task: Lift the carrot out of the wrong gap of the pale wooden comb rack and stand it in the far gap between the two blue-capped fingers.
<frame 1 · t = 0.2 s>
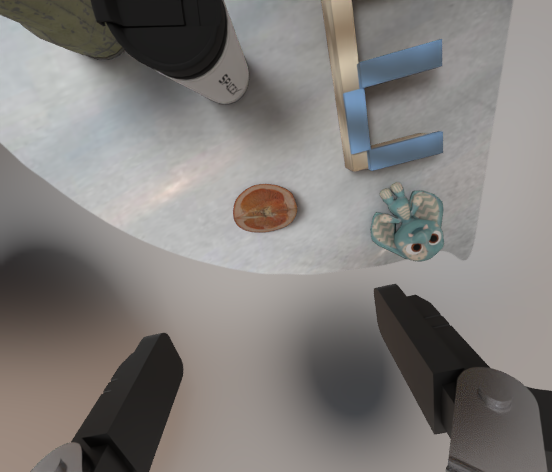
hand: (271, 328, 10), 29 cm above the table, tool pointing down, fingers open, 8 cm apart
comb rack: (378, 29, 30), on the table
thermos: (95, 16, 29), on the table
travel mug: (222, 75, 32), on the table
stuffed animal: (399, 217, 39), on the table
fruit slice: (266, 204, 38), on the table
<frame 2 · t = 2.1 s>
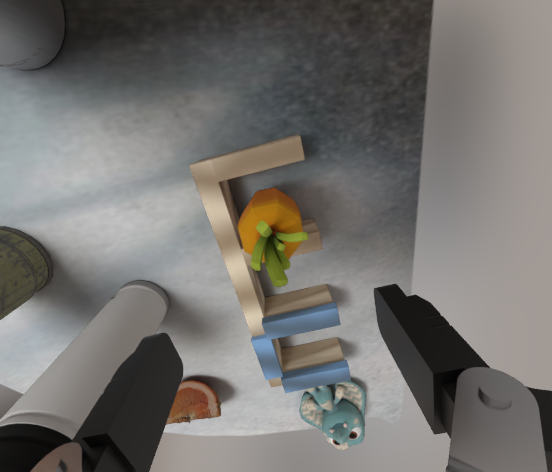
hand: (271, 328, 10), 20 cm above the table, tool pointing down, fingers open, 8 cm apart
comb rack: (289, 267, 32), on the table
thermos: (15, 260, 31), on the table
travel mug: (143, 299, 33), on the table
stuffed animal: (329, 392, 41), on the table
carrot: (270, 196, 28), on the table
fruit slice: (198, 387, 40), on the table
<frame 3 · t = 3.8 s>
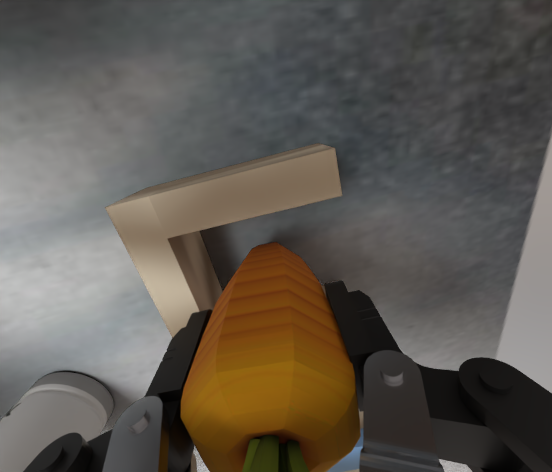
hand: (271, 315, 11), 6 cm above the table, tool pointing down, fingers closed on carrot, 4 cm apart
comb rack: (300, 352, 20), on the table
travel mug: (75, 395, 21), on the table
carrot: (271, 247, 17), on the table, touching gripper
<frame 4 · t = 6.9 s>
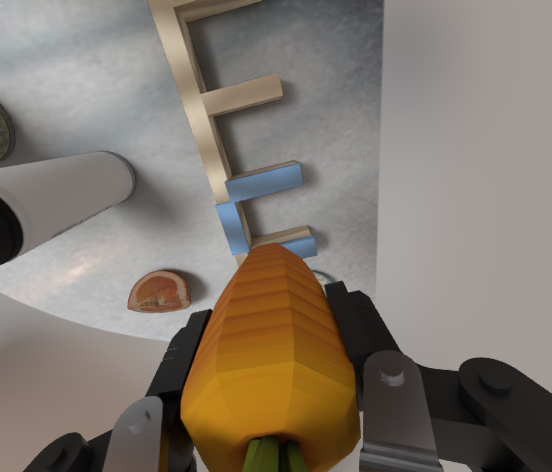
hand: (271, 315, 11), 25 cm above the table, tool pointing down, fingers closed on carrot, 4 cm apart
comb rack: (255, 139, 32), on the table
travel mug: (110, 176, 33), on the table
carrot: (271, 247, 17), point 19 cm above the table, touching gripper
fruit slice: (170, 284, 40), on the table
when the fingers open (8 cm above the table, at t = 9.9 s): carrot drops 1 cm, on the table.
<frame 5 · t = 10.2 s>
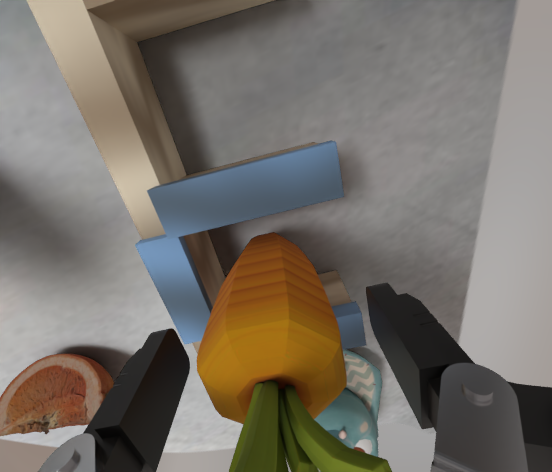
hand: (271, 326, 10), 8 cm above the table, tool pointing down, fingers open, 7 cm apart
comb rack: (231, 95, 15), on the table
stuffed animal: (316, 375, 23), on the table
carrot: (269, 238, 18), on the table
fruit slice: (91, 368, 22), on the table
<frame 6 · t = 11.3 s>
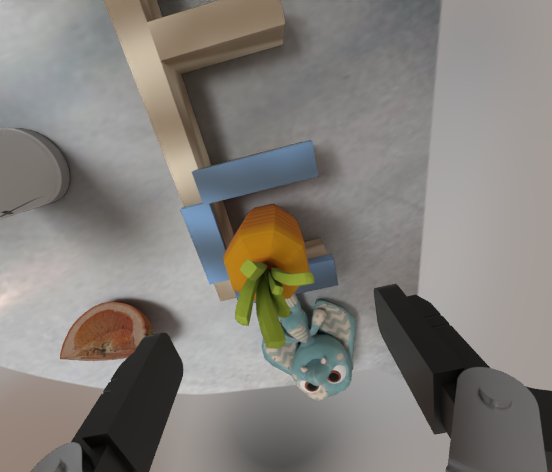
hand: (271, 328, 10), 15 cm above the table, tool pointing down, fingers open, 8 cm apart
comb rack: (244, 109, 21), on the table
travel mug: (33, 167, 23), on the table
stuffed animal: (306, 326, 30), on the table
carrot: (270, 212, 24), on the table
fruit slice: (131, 318, 29), on the table
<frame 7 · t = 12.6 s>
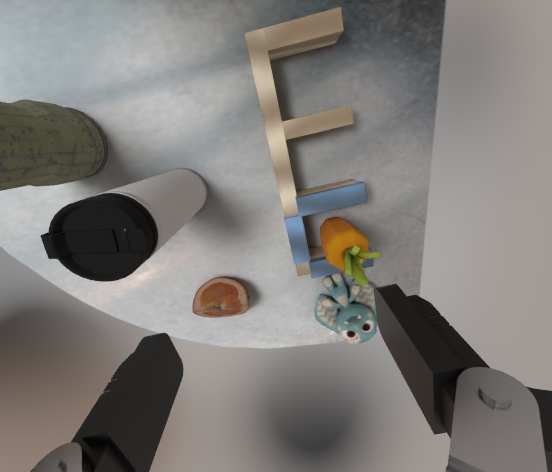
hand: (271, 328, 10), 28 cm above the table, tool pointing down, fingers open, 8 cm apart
comb rack: (318, 159, 35), on the table
thermos: (75, 144, 34), on the table
travel mug: (185, 190, 37), on the table
stuffed animal: (343, 298, 43), on the table
carrot: (327, 221, 38), on the table
fruit slice: (226, 290, 42), on the table
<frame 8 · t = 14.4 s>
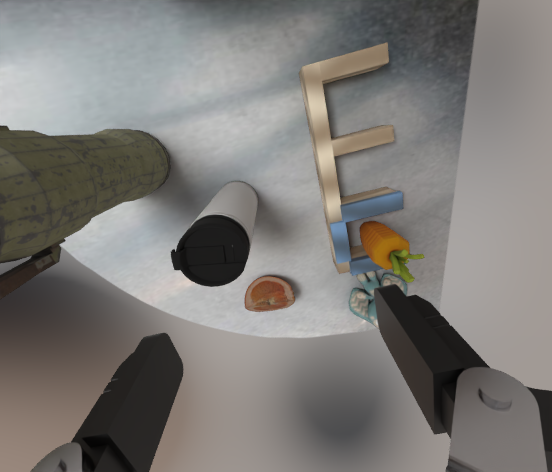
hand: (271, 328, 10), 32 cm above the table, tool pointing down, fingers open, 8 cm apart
comb rack: (357, 170, 39), on the table
thermos: (141, 162, 39), on the table
travel mug: (237, 200, 41), on the table
stuffed animal: (373, 291, 48), on the table
carrot: (363, 224, 43), on the table
fruit slice: (270, 287, 47), on the table
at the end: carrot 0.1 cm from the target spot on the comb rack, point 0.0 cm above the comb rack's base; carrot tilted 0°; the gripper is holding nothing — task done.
